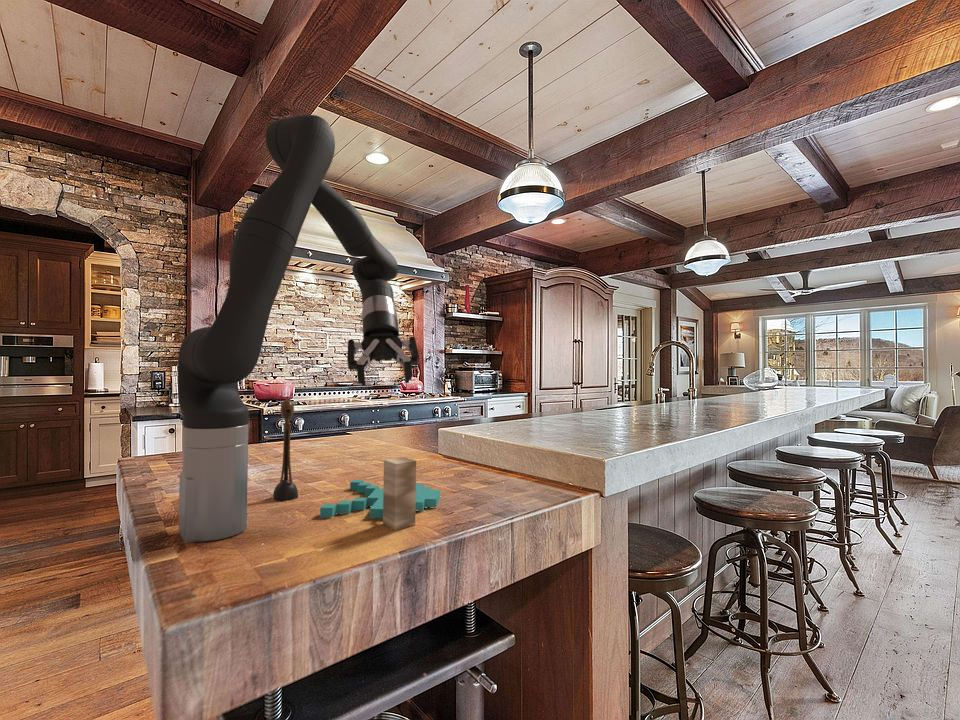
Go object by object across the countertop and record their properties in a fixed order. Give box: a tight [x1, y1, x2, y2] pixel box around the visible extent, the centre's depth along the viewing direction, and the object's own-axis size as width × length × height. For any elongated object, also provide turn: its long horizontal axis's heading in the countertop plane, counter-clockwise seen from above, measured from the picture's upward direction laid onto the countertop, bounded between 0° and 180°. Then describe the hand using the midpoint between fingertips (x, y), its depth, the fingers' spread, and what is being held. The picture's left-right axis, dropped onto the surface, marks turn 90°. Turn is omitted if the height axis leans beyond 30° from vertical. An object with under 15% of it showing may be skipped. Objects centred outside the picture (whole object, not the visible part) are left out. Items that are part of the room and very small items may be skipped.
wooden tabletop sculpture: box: [272, 399, 299, 502], centre depth 94 cm, size 6×5×20 cm
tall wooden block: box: [382, 456, 417, 531], centre depth 81 cm, size 4×6×11 cm, turn 41°
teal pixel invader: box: [319, 479, 441, 520], centre depth 92 cm, size 20×2×20 cm
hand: (385, 382), depth 92 cm, fingers open, 8 cm apart
